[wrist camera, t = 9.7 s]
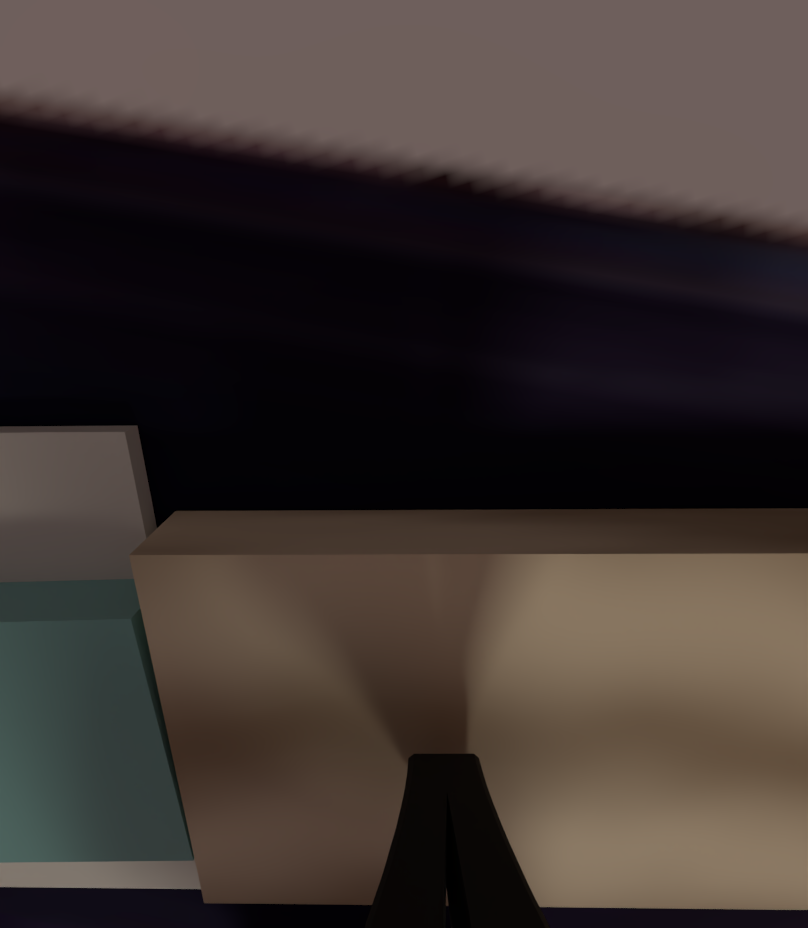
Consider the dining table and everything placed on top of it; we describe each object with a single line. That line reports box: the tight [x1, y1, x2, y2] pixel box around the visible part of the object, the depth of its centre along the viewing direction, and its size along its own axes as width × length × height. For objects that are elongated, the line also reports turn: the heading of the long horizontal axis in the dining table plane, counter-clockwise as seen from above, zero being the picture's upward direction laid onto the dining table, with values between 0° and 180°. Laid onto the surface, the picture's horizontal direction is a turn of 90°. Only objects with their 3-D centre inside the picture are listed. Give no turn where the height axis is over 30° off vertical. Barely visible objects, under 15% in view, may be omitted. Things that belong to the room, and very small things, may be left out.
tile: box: [0, 579, 194, 863], centre depth 12 cm, size 7×7×2 cm
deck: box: [129, 508, 808, 910], centre depth 12 cm, size 10×16×2 cm, turn 91°
